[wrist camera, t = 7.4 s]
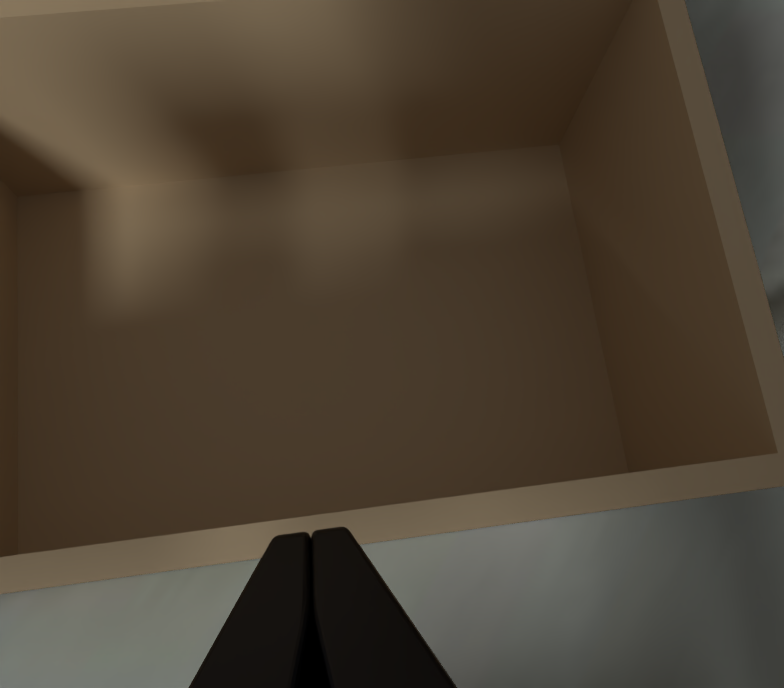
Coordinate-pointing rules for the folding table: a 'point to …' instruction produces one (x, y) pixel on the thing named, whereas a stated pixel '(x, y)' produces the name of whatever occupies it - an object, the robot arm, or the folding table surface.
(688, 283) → the carton
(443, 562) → the folding table surface
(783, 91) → the folding table surface
